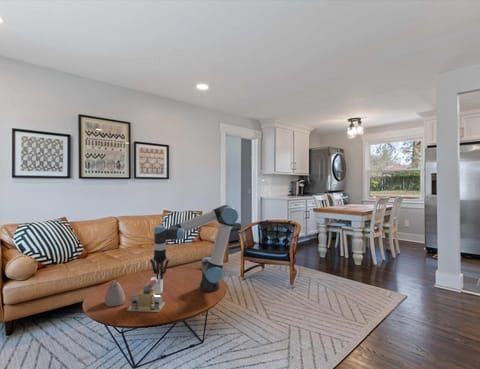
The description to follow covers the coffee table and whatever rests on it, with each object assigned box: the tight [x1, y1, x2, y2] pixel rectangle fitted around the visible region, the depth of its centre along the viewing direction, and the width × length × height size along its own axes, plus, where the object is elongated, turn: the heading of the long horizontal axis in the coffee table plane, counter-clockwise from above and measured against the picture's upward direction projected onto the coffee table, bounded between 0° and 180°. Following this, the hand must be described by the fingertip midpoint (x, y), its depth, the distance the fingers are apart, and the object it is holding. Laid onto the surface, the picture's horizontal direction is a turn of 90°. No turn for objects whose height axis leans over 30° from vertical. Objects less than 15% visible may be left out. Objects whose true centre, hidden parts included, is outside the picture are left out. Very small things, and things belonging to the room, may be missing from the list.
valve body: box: [126, 289, 166, 313], centre depth 178 cm, size 20×12×10 cm, turn 87°
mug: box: [145, 276, 164, 295], centre depth 199 cm, size 12×8×10 cm
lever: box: [142, 280, 156, 293], centre depth 183 cm, size 15×4×3 cm, turn 176°
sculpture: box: [104, 279, 126, 308], centre depth 184 cm, size 13×12×15 cm
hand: (159, 283), depth 187 cm, fingers closed
